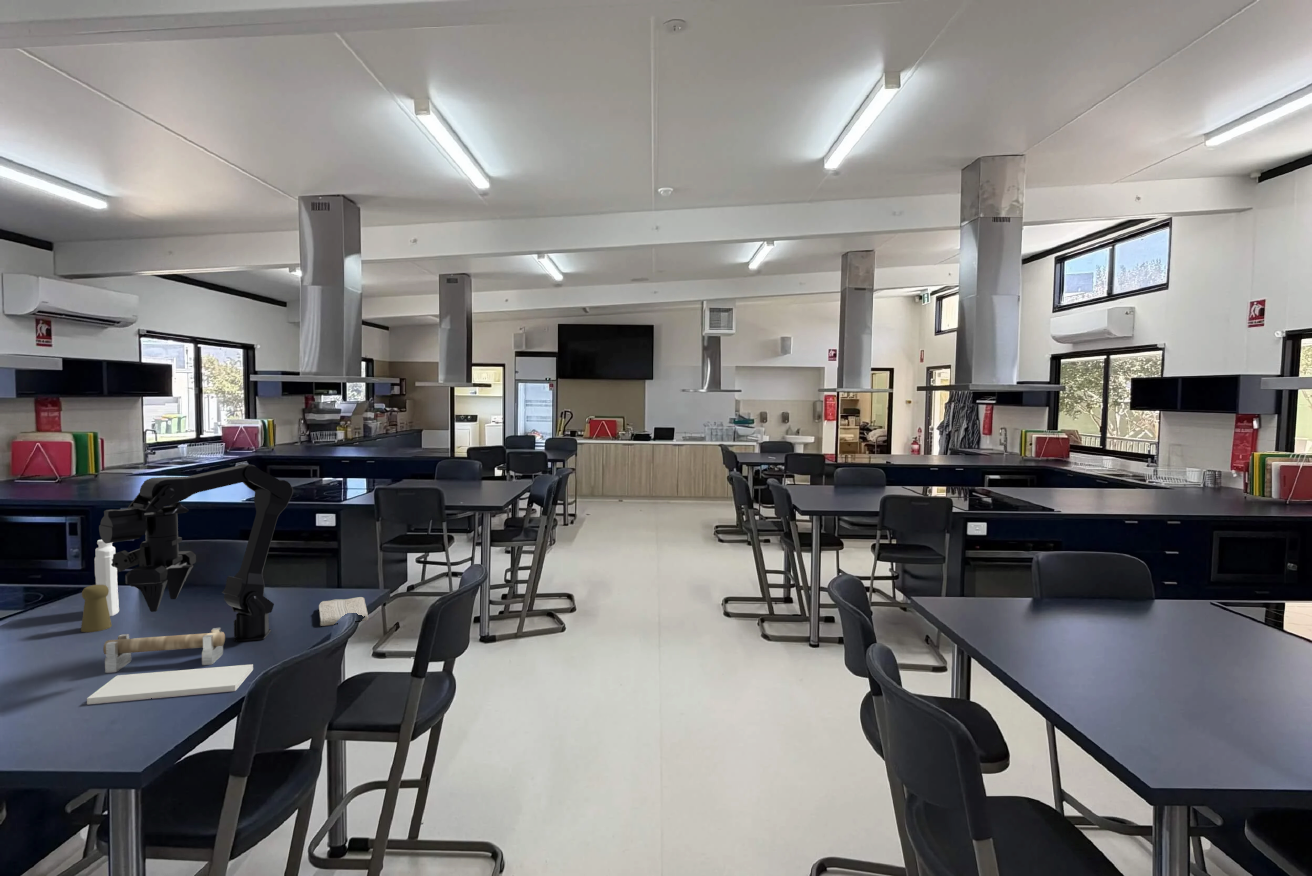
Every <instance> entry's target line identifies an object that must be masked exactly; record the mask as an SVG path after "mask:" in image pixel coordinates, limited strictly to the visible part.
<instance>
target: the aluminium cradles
mask: <svg viewBox="0 0 1312 876" xmlns="http://www.w3.org/2000/svg"><path fill="white" fill-rule="evenodd" d="M218 632H222V627H213V628H212V629H211V630H210V633H218ZM119 639H130V633H126V634H124V633H123V634H120V635H118V636H117V640H119ZM223 655H224V645H223V646H215V647H213V635H205V636H204V637H203V647H202V651H201V666H208V665H209V666H210V665H213V664H215V662H217V660H219V659H220V658H221V657H222V656H223ZM131 662H132V653H122V654H118V642H108V643H107V644H106V655H105V658H104V669H105V670H104V673H105V674H110V673H111V674H112V673H118V672H119V671H120V670H122V669H123V668H124V667H126V666H127V665H128V664H129V663H131Z"/></svg>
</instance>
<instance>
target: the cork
mask: <svg viewBox="0 0 1312 876" xmlns="http://www.w3.org/2000/svg"><path fill="white" fill-rule="evenodd" d="M108 592H109V589H108V587H107V586H106V585H96V584H92V585H87V586H86V587H84V588H83V590H82V591H81V597H82V599H83V600H84V605H83V613H82V619H81V625H80V632H81V633H94V632H95V633H97V632H101V631H104V630H108V629H110V628H111V627H112V620H111V616H110V614H109V610H108V605H107V600H106V596H107V595H108Z"/></svg>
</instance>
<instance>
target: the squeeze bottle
mask: <svg viewBox="0 0 1312 876" xmlns="http://www.w3.org/2000/svg"><path fill="white" fill-rule="evenodd" d="M96 544H97V545H98V547H96V548H95V557H94V577H95V585H106V586H107V587H108V589H109V592H108V595H107V596H106V600H107V605H108V610H109V614H110V617H113V616H115V615H117V614H118V613H119V612H120V607H119V606H120V605H119V604H120V602H119V601H120V600H119V592H118V591H119V589H118V588H119V586H118V568H116V567H113V566H112V565H111V564H112V563H113V562H112V559H113V554H115V553H116V547H115V546H113V543H104V542H103V540H102V539H98V540H97V542H96Z"/></svg>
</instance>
